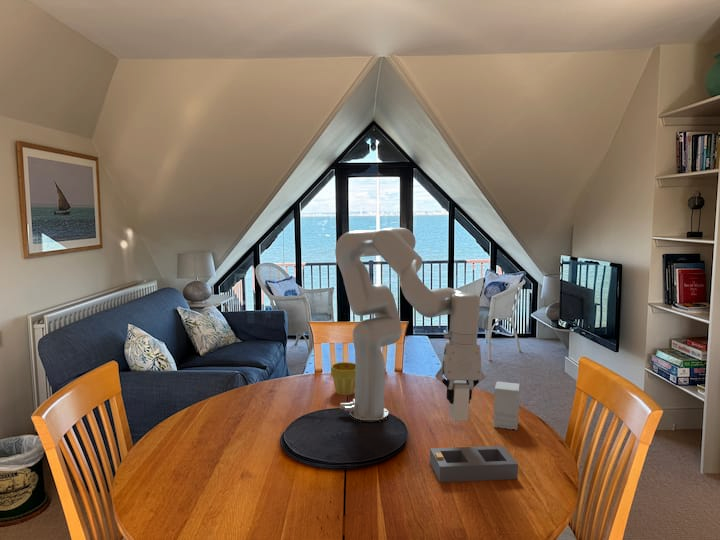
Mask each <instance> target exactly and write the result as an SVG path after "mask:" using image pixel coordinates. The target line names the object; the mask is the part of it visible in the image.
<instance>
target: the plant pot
mask: <svg viewBox="0 0 720 540" xmlns="http://www.w3.org/2000/svg"><path fill="white" fill-rule="evenodd" d="M330 375H331V376H332V379H333V385H334V388H335V393H336V394H338V395H340V396H350V395H353V394H355V363H354V362H349V361H348V362H347V361H344V362H343V361H342V362H341V361H340V362H335V363H333V364H331V366H330Z"/></svg>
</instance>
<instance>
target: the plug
mask: <svg viewBox="0 0 720 540" xmlns="http://www.w3.org/2000/svg"><path fill="white" fill-rule="evenodd" d="M469 388H470V385H469V384H468V383H467V382H466V380H455V381H454V384H453V390H454V399H453V404H451V403H450V402H449V401H448V402H449V403H448V415H449V417H450V418H451V420H452V421H453V422H468V421H469V406H470V405H469V404H470V403H469Z"/></svg>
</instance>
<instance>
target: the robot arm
mask: <svg viewBox="0 0 720 540" xmlns="http://www.w3.org/2000/svg"><path fill="white" fill-rule="evenodd" d="M415 247H416V238H415V235H414V234H413V232H412V230H410V229H408V228H405V227H386V228H382V229H370V230H369V229H368V230H367V229H365V230H361V229H360V230H350V231H347V232H345V233H343V234H342V235H341V236H339V238H338V240H337V241H336V244H335V250H334V252H335V253H334V256H335V260H336V262H337V266H338V267H339V271H340V273H341V276H342V279H343V284H344V287H345V292H346V296H347V299H348V303H349V306H350V307H349V308H350V310H351V312H352V313H353V315H356V316H360V317H363V316H368V315H369V316H370V315H374V316H375V317H371V318H368V319H364V320H361V321H359V322H358V323H357V324H356V325H355V326H354V327H353V330H352V340H353V346H354V357H355V358H354V360H355V361H354V362H355V390H354V398H352V401H350V402H340V403H339V406H340V410H344V412H349V416H350V415H351V416H352V417H354V418H356V419H360V420H379V419H383V418H385V417H387V416H388V415H390V414H389V413H390V412H389V410H388V409H387V408H385V378H386V376H385V374H386V361H385V357H384V354H383V352H382V350H381V349H382V347H383V348H384V347H386V346H390V345H393V344H395V343H397V342H399V340H400V339H401V337H402V335H403V334H402V333H403V327H402V322H401V319H400V314H399V311H398V307H397V303H396V300H395V299H396V298H395V296H394V294H393V292H392V290H391V289H390V288H389V287H388V286H387V285H385V284H382V283H374V284H373V282H372V280H371V276H370V272H369V270H368V268H367V266H366V265H365V264H364V263H363V261H362V260H361V258H362V257H363V258H364V257H365V258H367V257H378V256H380V257H381V258H382V259H383V260H384V261H385V263H387V265H388V266H389V267H390V268H391V269H392V270H393V271H394V272H395V274H397V275H398V277H399V283H400V284H399V285H400V288H401V292H402V295H403V296H404V298H405V300H406V301H407V302H408V303H409V304H410V305H411V306H412V308H413V309H414V310H415V311H417V313H418V314H420V315H421V316H422V317H425V318H431V319H432V318H435V317H436V318H437V317H440V316H445V315H450V318H449V320H450V321H449V330H448V332H445V333H444V334H443V338H444V339H448V340H447V341H446V342H445V347H444V350H443V355H442V362H441V368H439V370H438V371H437V372H436V374H435V376H434V377H435V379H436V380H438V381H439V382H440V383H442V384H444V386H445V387H446V400H448V402H450V403H451V404H453V399H454V390H453V384H454V381H455V380H465V381H466V382H467V383H468V384H469V385H470V388H469V404H470V403H471V402H470V401H471V400H472V395H473V390H474V388H475V387H476V386H477V385H478V384H479V383H481V382H482V381H484V380H485V379H486V376H485V374H484V372H483V370H482V351H481V343H479V342H478V330H479V329H478V328H479V319H480V318H479V315H480V303H481V302H480V301H481V299H480V296H479V295H478V294H477V293H472V292H466V291H460V290H458V289H456V288H452V287H440V288H434V289H429V288H428V287H427V286H426V284H425V283H424V282H423V281H422V280H421V279H420V277H419V275H418V272H419V271H420V269H421V268H422V265H423V258H422V257H421V256H420V255H419V253H418V252H416V250H415ZM443 376H444V377H443ZM351 416H350V417H351ZM352 417H351V418H352ZM388 417H389V416H388Z"/></svg>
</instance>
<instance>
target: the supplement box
mask: <svg viewBox="0 0 720 540" xmlns="http://www.w3.org/2000/svg"><path fill="white" fill-rule="evenodd" d="M493 397H494V401H493V402H494V403H493V428H498V427H499V429H505V428H506V430H512V429H515V430H514V431H518V428H519V427H518V426H519V414H520V413H519V411H520V383H516V382H515V383H514V382H505V381H496V383H495V386H494V396H493Z"/></svg>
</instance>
